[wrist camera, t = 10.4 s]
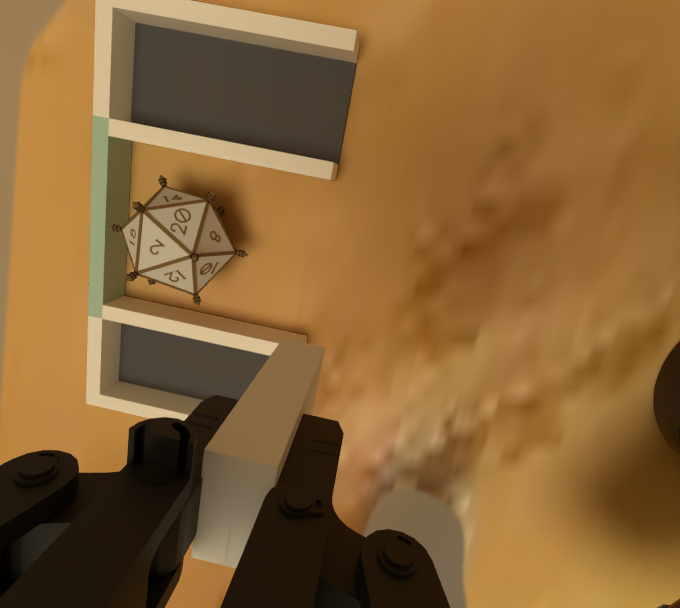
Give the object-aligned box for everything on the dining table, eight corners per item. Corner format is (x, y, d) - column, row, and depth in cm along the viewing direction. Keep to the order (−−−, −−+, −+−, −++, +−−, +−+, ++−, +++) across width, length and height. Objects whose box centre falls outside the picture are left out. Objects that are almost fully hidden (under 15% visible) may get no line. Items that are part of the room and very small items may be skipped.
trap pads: (356, 64, 30) (356, 63, 30) (292, 418, 38) (291, 420, 38) (137, 24, 31) (135, 22, 31) (120, 379, 39) (118, 380, 39)
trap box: (359, 45, 30) (356, 30, 27) (290, 429, 39) (283, 449, 36) (123, 2, 31) (96, -17, 28) (107, 388, 40) (86, 403, 37)
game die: (204, 213, 38) (124, 134, 29) (280, 238, 35) (218, 158, 26) (152, 300, 36) (50, 243, 27) (228, 335, 33) (141, 284, 24)
